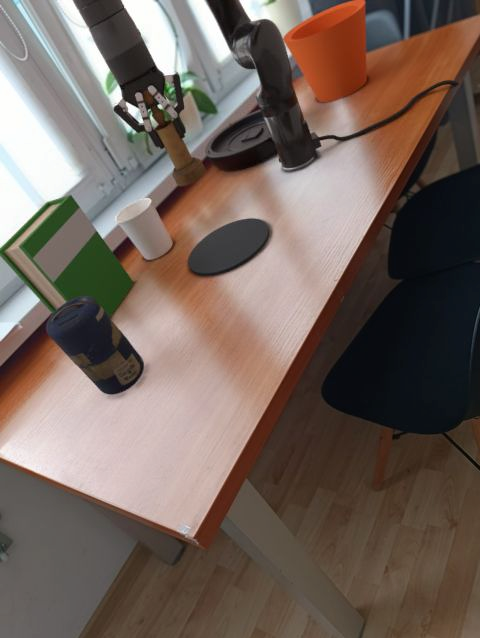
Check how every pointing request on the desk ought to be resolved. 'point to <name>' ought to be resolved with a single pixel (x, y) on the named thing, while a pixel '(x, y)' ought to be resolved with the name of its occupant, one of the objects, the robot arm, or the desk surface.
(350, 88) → the flowerpot
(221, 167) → the black round plastic slab
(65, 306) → the canister
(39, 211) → the hardback book
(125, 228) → the white cup
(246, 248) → the disc
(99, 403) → the desk surface
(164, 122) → the brown wooden turned piece
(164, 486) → the desk surface
